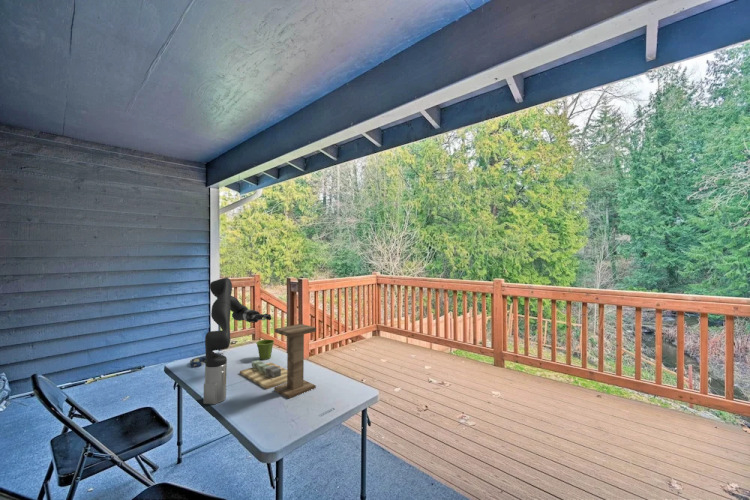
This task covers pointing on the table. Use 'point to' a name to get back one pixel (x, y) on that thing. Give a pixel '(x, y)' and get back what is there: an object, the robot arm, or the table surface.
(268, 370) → the sanding stick
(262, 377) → the pine board
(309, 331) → the shelf stand
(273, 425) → the table surface
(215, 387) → the robot arm
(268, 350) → the plant pot
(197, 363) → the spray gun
